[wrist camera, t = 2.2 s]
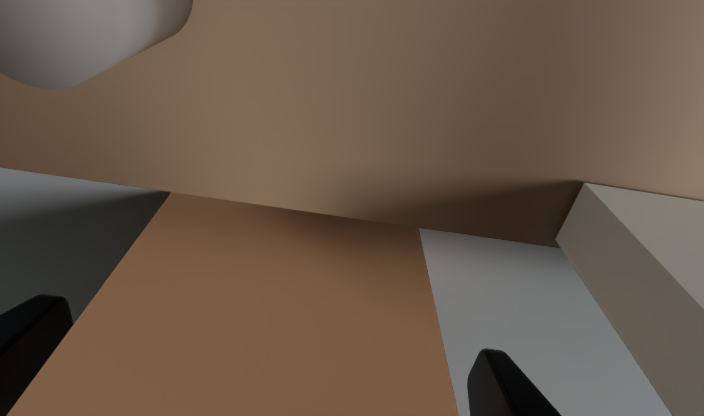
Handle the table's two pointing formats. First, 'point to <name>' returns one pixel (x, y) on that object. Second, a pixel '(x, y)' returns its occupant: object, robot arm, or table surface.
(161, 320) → the block
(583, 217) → the frame
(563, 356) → the table surface
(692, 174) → the seat plate
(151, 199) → the table surface
